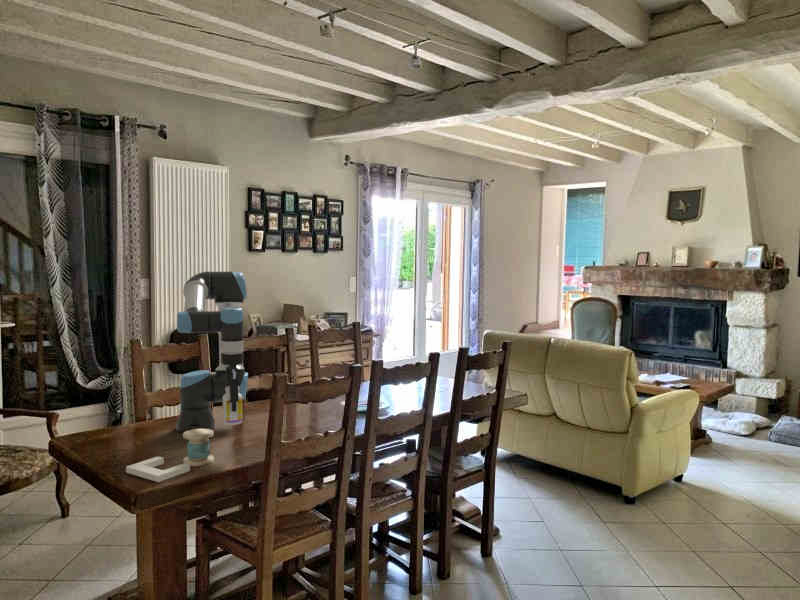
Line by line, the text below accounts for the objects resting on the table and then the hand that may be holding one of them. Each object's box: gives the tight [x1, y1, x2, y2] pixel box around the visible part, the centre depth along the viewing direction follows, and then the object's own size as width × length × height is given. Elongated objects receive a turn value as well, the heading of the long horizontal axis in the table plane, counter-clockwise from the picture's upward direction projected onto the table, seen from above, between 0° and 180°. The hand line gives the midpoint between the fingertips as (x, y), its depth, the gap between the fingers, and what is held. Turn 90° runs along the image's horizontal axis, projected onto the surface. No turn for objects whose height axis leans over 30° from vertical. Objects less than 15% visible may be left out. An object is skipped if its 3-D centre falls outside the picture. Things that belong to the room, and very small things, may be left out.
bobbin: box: [182, 429, 215, 467], centre depth 205 cm, size 10×10×10 cm
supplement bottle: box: [222, 386, 243, 426], centre depth 208 cm, size 7×7×13 cm
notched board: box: [125, 456, 191, 483], centre depth 194 cm, size 12×16×2 cm
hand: (232, 417), depth 209 cm, fingers closed on supplement bottle, 7 cm apart
